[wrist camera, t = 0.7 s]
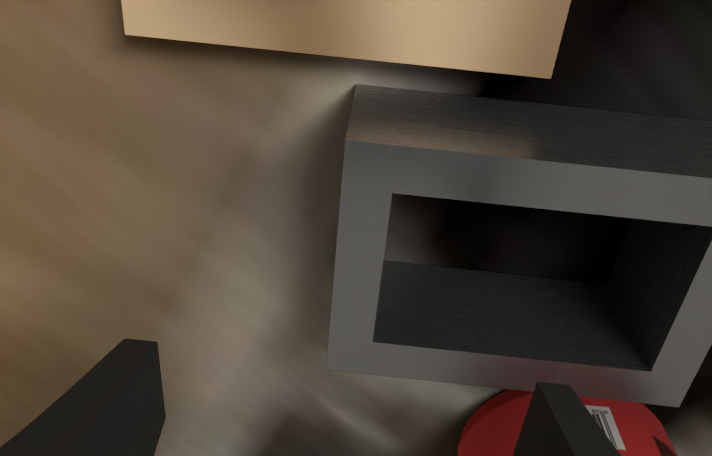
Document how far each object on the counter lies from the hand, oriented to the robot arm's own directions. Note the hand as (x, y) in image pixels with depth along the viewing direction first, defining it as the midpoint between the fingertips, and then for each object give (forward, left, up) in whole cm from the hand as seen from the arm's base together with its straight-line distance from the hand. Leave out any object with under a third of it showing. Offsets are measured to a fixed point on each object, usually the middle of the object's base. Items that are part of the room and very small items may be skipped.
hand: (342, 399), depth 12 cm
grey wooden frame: (-4, 0, -8) cm, 9 cm away
